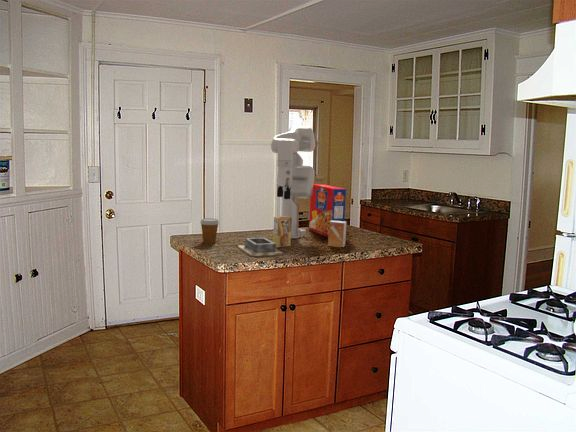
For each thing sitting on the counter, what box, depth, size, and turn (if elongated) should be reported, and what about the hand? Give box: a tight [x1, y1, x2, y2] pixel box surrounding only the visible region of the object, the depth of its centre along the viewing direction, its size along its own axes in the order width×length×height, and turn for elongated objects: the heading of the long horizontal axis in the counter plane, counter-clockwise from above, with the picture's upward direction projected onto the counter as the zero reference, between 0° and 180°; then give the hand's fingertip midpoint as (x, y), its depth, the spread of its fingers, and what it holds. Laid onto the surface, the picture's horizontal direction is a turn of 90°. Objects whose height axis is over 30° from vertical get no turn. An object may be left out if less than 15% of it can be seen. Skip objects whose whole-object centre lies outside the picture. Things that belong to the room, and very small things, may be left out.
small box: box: [327, 220, 348, 248], centre depth 288 cm, size 8×6×13 cm
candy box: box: [272, 215, 292, 248], centre depth 282 cm, size 9×4×15 cm, turn 129°
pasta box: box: [308, 183, 347, 238], centre depth 322 cm, size 28×8×28 cm, turn 24°
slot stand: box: [237, 237, 283, 257], centre depth 269 cm, size 16×20×5 cm
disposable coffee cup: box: [200, 217, 220, 245], centre depth 284 cm, size 10×10×12 cm
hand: (283, 197), depth 279 cm, fingers open, 9 cm apart
